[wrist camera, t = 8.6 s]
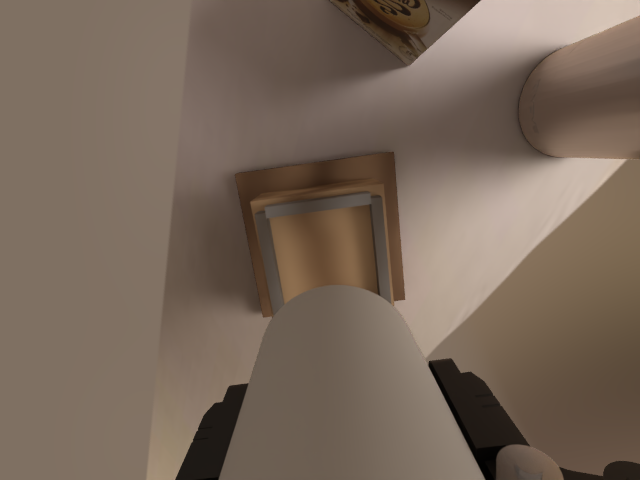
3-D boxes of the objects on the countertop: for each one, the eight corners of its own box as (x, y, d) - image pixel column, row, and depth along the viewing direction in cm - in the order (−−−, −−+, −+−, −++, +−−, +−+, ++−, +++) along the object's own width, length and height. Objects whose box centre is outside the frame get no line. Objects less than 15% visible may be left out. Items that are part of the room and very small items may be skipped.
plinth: (390, 152, 30) (413, 152, 23) (401, 293, 34) (424, 333, 26) (238, 173, 31) (213, 179, 23) (265, 310, 34) (250, 354, 27)
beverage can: (289, 419, 16) (203, 1166, 4) (243, 299, 14) (-103, 963, 3) (422, 386, 15) (743, 1128, 4) (390, 258, 14) (771, 853, 2)
